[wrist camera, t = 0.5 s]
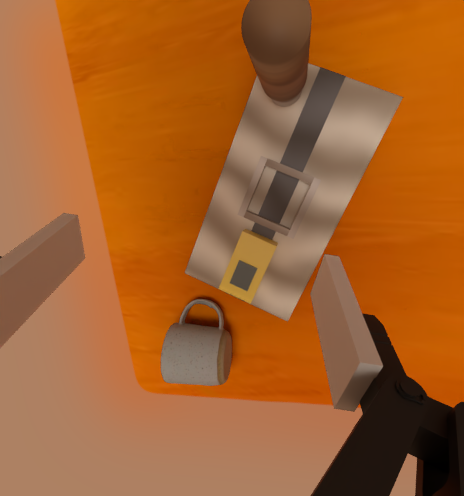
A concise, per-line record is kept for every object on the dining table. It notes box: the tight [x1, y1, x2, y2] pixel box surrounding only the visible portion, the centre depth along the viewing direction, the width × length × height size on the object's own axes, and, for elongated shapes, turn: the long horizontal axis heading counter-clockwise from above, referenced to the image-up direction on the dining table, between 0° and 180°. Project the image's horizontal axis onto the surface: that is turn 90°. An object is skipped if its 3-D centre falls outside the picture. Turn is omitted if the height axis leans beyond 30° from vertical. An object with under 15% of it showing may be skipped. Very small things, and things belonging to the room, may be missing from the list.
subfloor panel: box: [185, 63, 403, 321], centre depth 35 cm, size 28×15×3 cm, turn 158°
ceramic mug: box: [161, 299, 232, 386], centre depth 39 cm, size 11×8×8 cm
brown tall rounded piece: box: [242, 0, 311, 107], centre depth 25 cm, size 4×4×14 cm
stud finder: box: [219, 229, 278, 304], centre depth 36 cm, size 8×4×2 cm, turn 158°
